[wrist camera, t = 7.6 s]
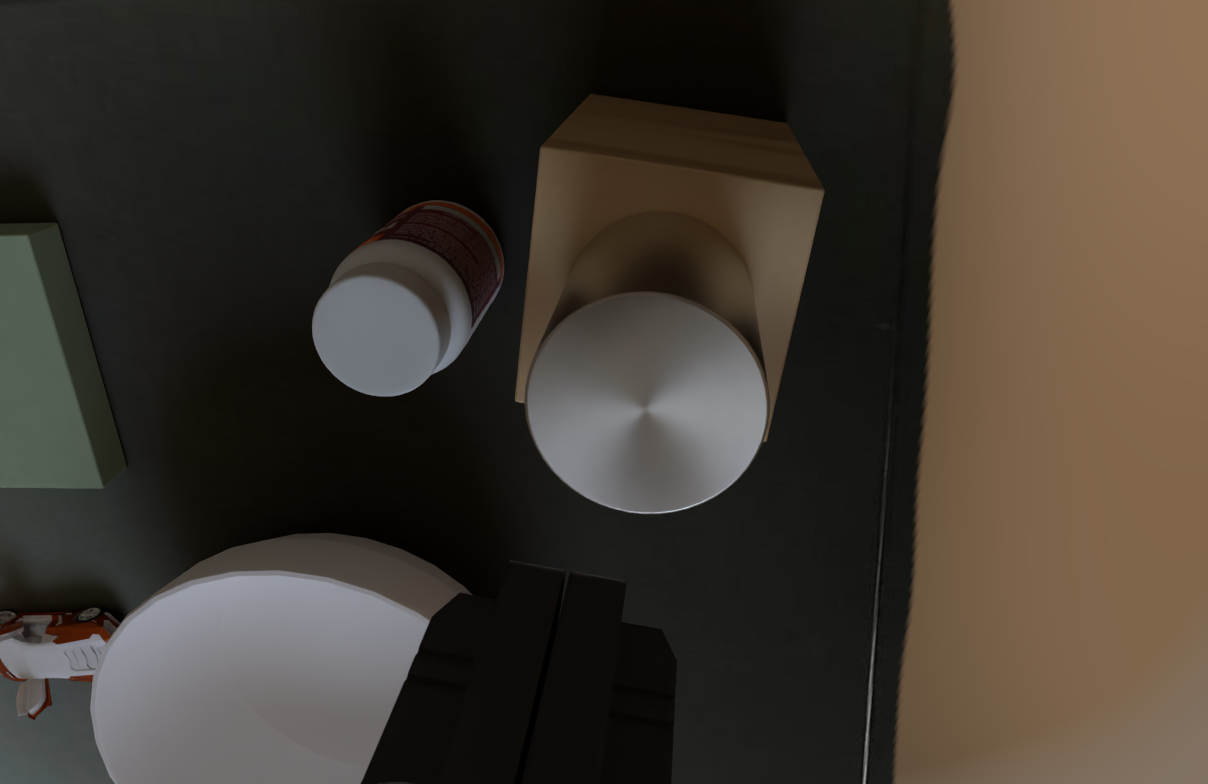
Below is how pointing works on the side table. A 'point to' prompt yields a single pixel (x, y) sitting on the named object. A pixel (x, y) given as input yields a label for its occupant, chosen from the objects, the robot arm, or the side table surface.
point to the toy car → (51, 651)
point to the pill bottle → (408, 298)
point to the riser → (674, 203)
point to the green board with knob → (49, 371)
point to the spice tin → (651, 368)
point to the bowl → (265, 664)
